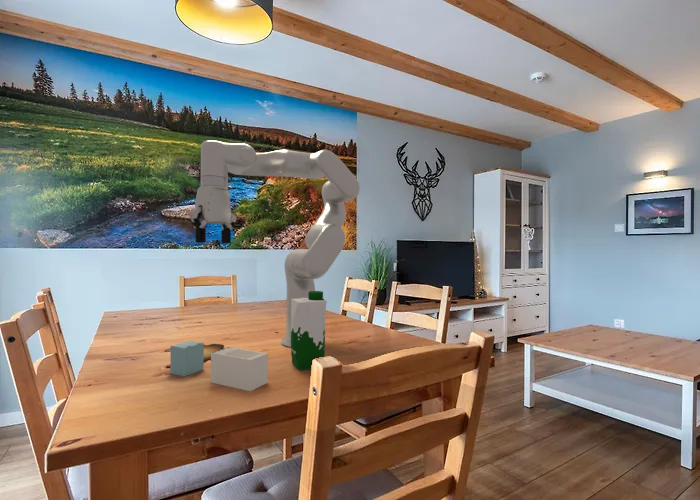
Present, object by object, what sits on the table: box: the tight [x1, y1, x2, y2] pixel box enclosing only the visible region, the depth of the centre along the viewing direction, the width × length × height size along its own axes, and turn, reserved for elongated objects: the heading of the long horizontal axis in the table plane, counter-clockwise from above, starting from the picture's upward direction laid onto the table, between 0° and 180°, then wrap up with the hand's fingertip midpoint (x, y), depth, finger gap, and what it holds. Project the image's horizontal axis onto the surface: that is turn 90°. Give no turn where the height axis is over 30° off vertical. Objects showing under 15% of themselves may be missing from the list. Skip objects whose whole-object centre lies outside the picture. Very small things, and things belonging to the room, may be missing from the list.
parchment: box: [166, 343, 225, 368], centre depth 111 cm, size 25×10×1 cm, turn 0°
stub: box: [169, 340, 205, 377], centre depth 97 cm, size 6×5×7 cm
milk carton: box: [290, 290, 327, 371], centre depth 103 cm, size 9×9×20 cm
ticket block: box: [210, 346, 269, 392], centre depth 89 cm, size 6×12×7 cm, turn 64°
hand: (213, 242), depth 110 cm, fingers open, 9 cm apart
